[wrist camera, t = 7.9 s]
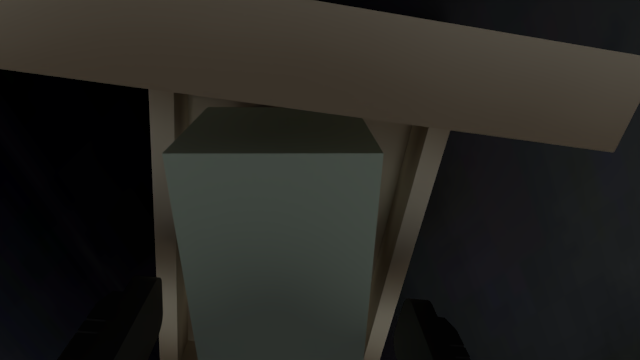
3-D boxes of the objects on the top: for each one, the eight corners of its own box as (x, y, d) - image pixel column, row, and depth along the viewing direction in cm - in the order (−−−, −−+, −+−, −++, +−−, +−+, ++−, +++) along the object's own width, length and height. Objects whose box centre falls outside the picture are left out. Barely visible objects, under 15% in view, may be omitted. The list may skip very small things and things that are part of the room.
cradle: (171, -15, 13) (-52, -62, 5) (450, 32, 14) (661, 58, 6) (176, 348, 20) (93, 576, 12) (359, 359, 21) (397, 575, 13)
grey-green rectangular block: (207, 106, 11) (162, 153, 7) (356, 107, 11) (383, 153, 8) (237, 378, 16) (219, 486, 12) (340, 375, 16) (351, 479, 13)
